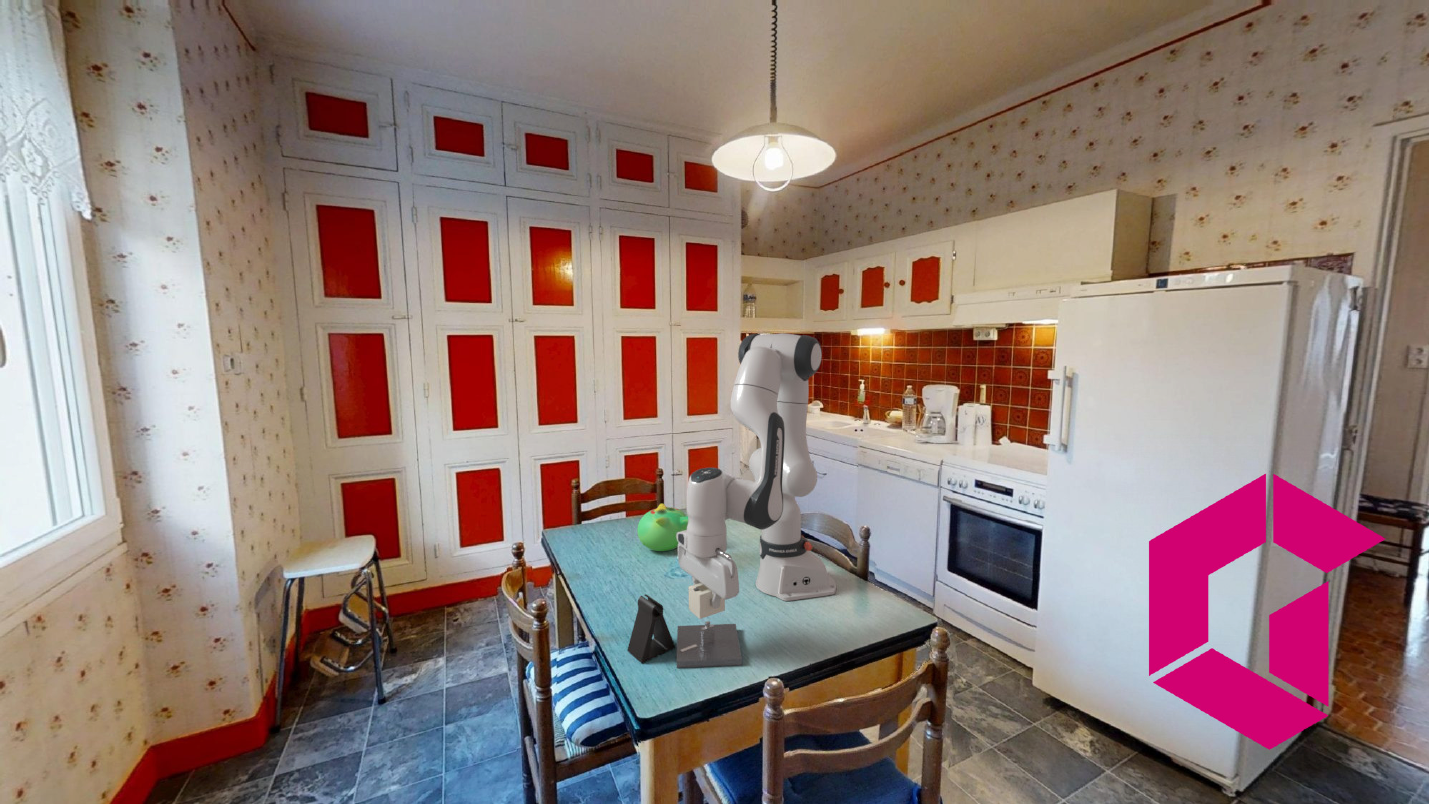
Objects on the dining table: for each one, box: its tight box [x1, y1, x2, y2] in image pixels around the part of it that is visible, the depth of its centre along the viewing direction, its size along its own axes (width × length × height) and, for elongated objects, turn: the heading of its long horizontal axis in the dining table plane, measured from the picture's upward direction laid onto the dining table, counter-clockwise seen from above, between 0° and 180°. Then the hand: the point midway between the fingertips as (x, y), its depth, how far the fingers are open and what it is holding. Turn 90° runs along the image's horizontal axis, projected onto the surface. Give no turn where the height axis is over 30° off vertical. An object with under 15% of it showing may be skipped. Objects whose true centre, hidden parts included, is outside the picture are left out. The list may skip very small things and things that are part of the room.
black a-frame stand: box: [626, 593, 676, 664], centre depth 117 cm, size 9×6×12 cm, turn 129°
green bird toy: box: [637, 503, 689, 552], centre depth 174 cm, size 18×17×15 cm
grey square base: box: [676, 620, 743, 669], centre depth 118 cm, size 14×14×6 cm
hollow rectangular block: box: [688, 583, 726, 620], centre depth 116 cm, size 7×5×6 cm
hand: (707, 600), depth 117 cm, fingers closed on hollow rectangular block, 5 cm apart
